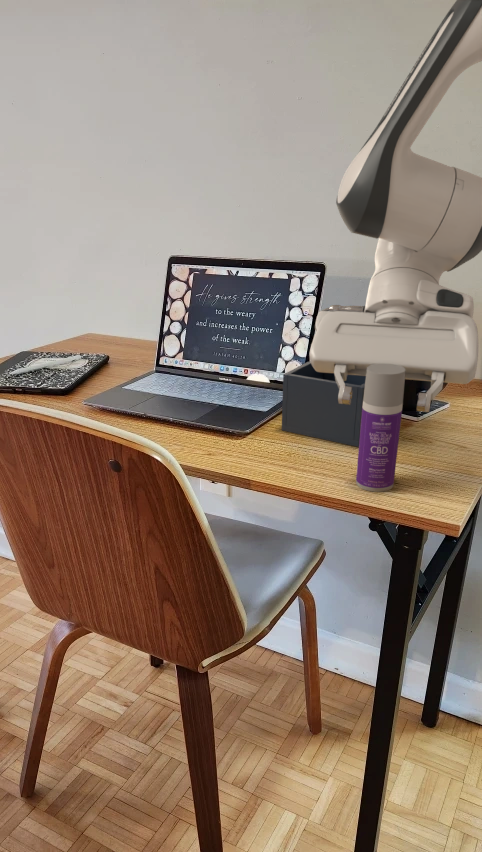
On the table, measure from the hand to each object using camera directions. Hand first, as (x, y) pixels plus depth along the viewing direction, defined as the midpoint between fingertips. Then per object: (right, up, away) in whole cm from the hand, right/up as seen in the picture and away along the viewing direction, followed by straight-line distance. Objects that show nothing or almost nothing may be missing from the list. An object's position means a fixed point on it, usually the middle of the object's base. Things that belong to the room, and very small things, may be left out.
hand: (382, 405), depth 84 cm
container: (0, -10, +4) cm, 10 cm away
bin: (-1, 0, +22) cm, 22 cm away
